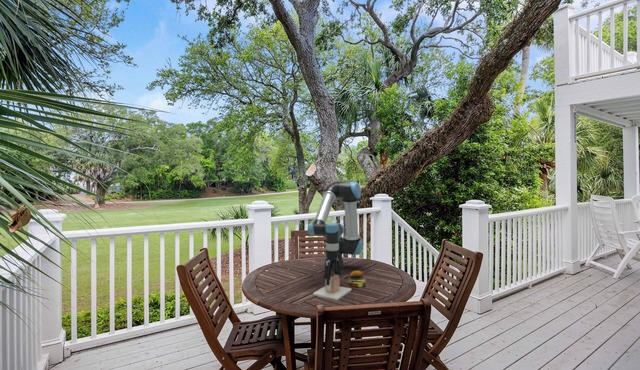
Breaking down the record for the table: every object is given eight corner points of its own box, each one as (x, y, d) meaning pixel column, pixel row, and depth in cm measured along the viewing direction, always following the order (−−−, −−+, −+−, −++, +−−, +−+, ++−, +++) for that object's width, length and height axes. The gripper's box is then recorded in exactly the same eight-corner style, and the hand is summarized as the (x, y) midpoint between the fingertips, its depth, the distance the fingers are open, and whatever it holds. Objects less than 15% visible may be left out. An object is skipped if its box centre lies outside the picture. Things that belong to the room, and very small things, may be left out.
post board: (328, 285, 213) (328, 274, 212) (351, 290, 205) (351, 278, 204) (312, 294, 197) (312, 283, 197) (337, 300, 189) (337, 287, 189)
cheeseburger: (352, 288, 207) (351, 271, 209) (347, 287, 217) (345, 271, 219) (368, 286, 210) (366, 270, 212) (361, 285, 220) (360, 269, 222)
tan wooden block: (330, 288, 205) (330, 275, 205) (339, 290, 202) (339, 277, 202) (325, 291, 200) (325, 278, 199) (334, 293, 197) (334, 280, 196)
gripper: (335, 245, 211) (335, 281, 212) (317, 252, 193) (317, 292, 194) (346, 246, 207) (346, 283, 208) (328, 254, 189) (329, 294, 190)
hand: (332, 287), depth 201 cm, fingers open, 8 cm apart
